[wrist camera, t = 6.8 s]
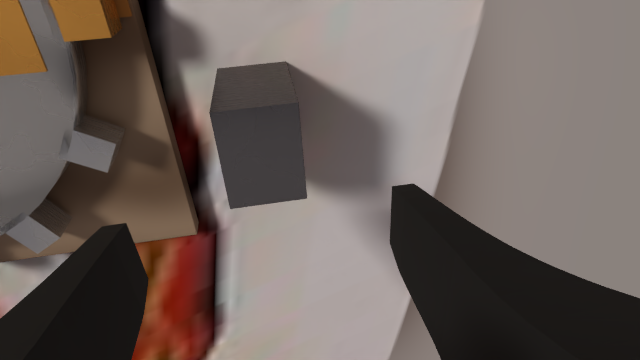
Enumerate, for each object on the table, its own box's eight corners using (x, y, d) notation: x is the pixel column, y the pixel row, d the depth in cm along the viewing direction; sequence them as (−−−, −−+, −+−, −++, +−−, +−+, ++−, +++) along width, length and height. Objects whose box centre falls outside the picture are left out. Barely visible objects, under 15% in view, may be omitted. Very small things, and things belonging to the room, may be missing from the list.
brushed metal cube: (294, 141, 21) (307, 198, 16) (233, 149, 20) (230, 208, 16) (285, 61, 18) (298, 102, 14) (217, 68, 18) (209, 112, 14)
